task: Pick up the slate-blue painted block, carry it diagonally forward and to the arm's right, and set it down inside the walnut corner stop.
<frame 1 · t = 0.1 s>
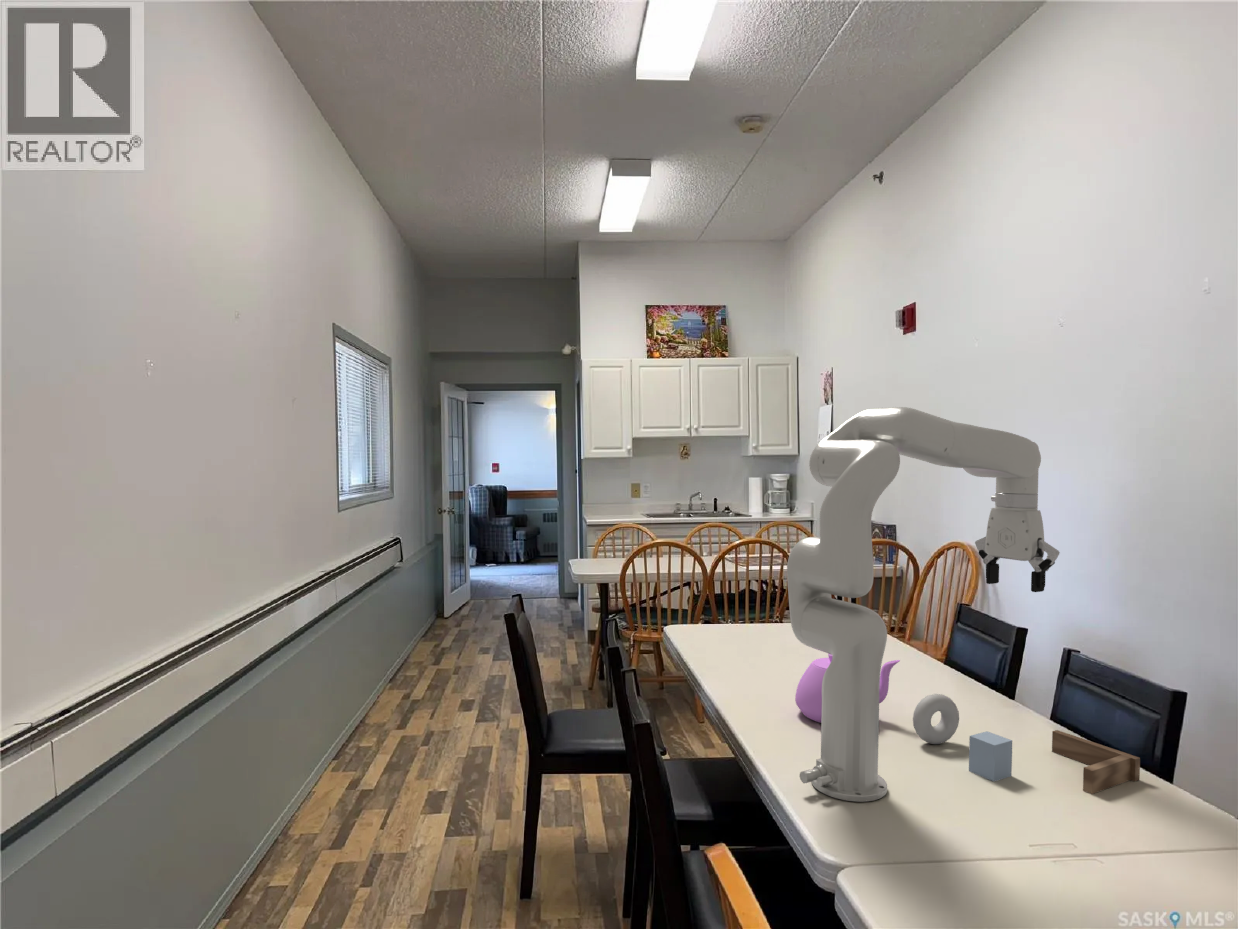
hand: (1014, 587, 153), 31 cm above the table, fingers open, 9 cm apart
teapot: (846, 718, 166), on the table
corner stop: (1068, 770, 139), on the table
donut: (935, 744, 151), on the table
block: (989, 773, 138), on the table
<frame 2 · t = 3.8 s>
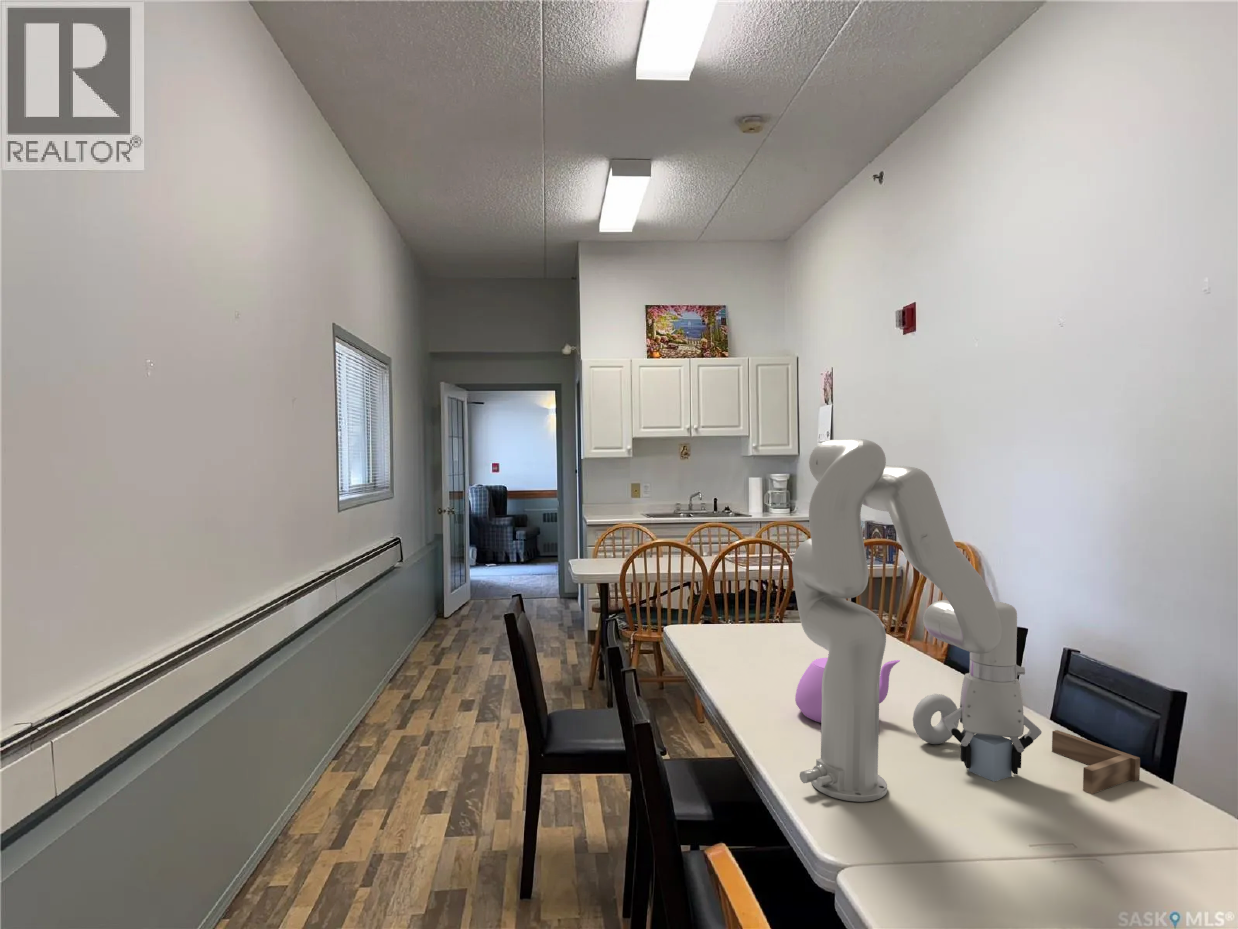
hand: (990, 767, 138), 1 cm above the table, fingers closed on block, 7 cm apart
block: (990, 773, 138), on the table, touching gripper
everything else where it was.
when the fingers open (2 cm above the table, at t = 9.5 s): block drops 2 cm, on the table.
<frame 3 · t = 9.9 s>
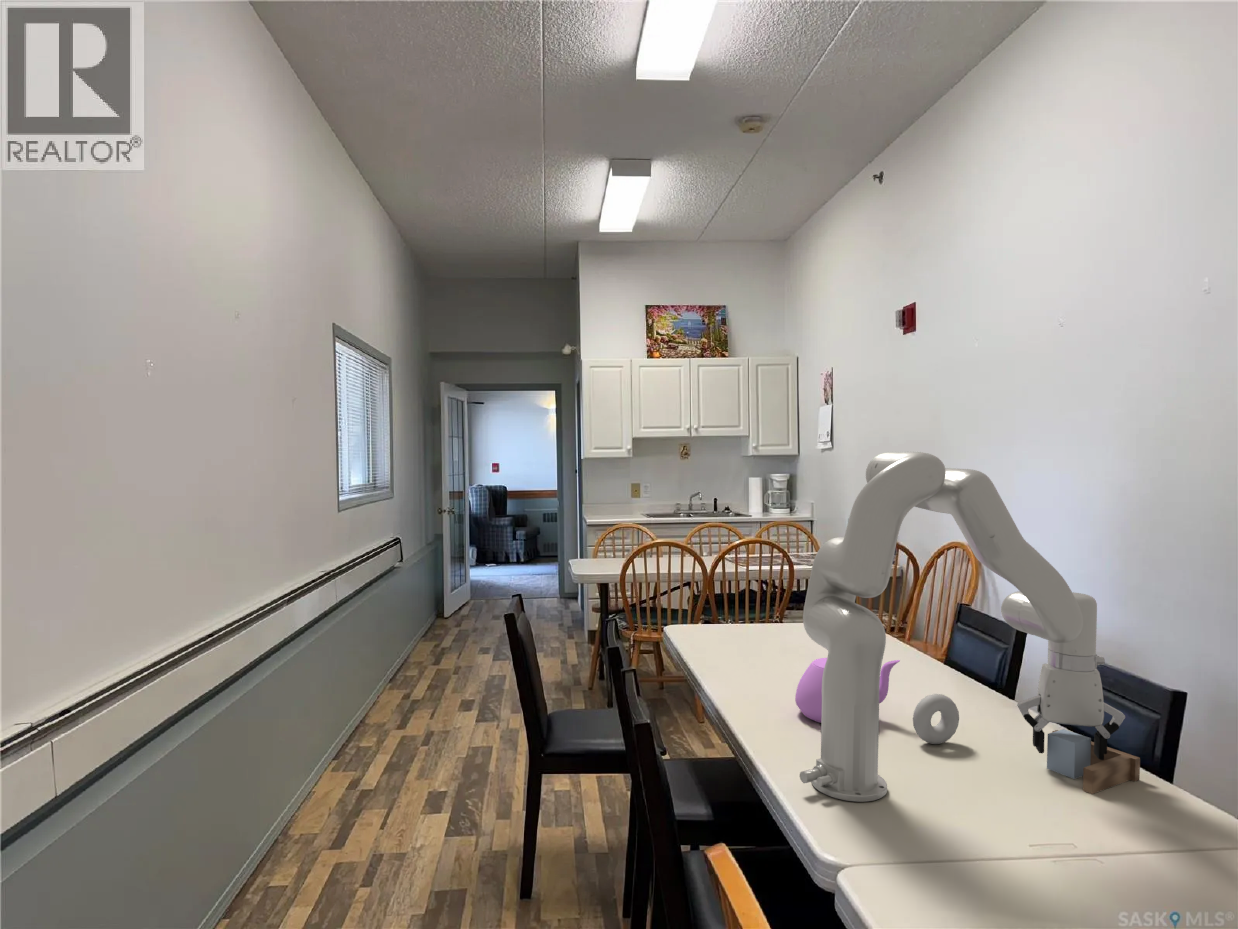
hand: (1068, 754, 139), 3 cm above the table, fingers open, 9 cm apart
block: (1068, 771, 139), on the table
everything else where it was.
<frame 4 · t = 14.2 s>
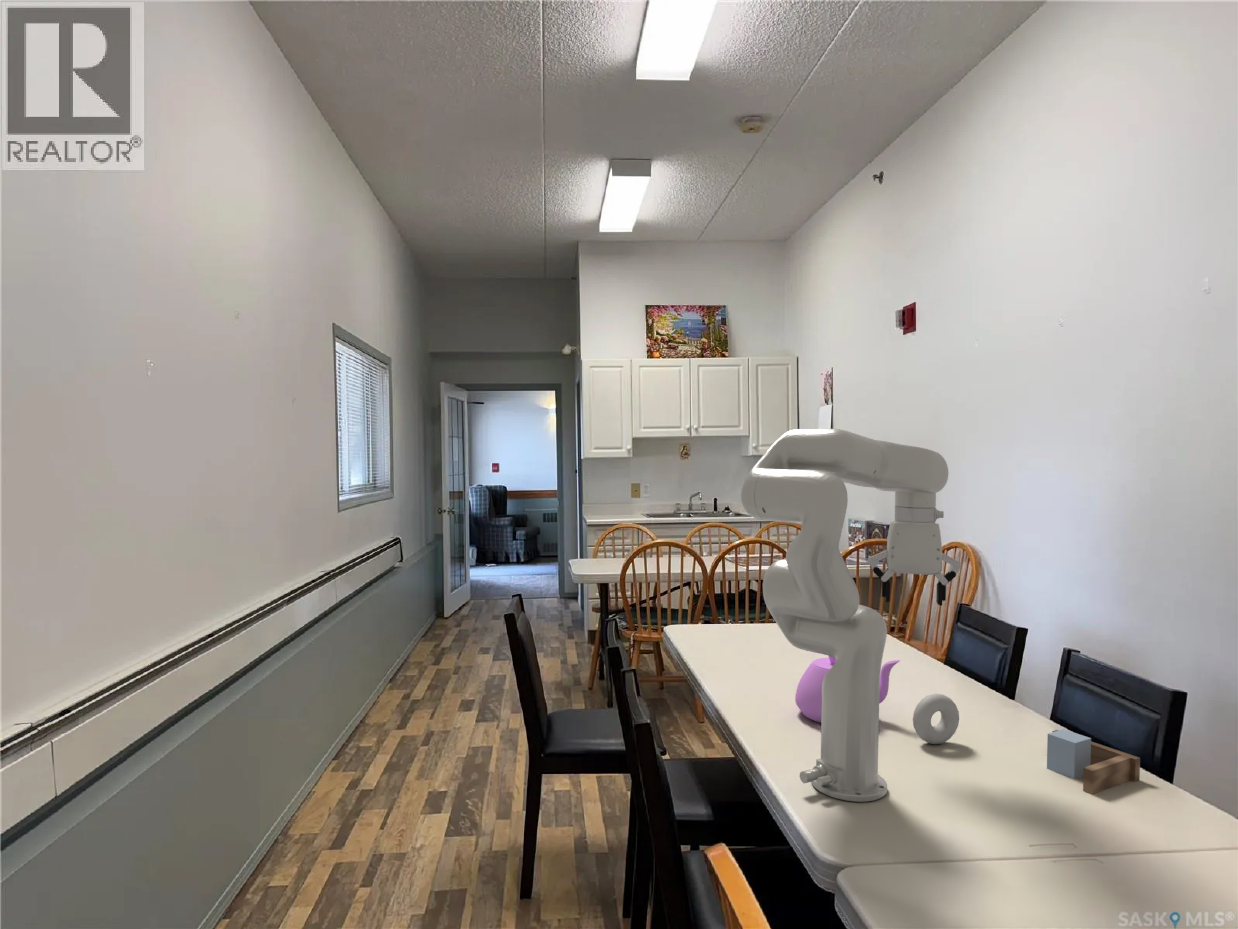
hand: (913, 602, 150), 28 cm above the table, fingers open, 9 cm apart
nothing on the table moved.
at the end: block inside the target area on the corner stop (0.4 cm from its centre), point 0.0 cm above the corner stop's base; block tilted 0°; the gripper is holding nothing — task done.
